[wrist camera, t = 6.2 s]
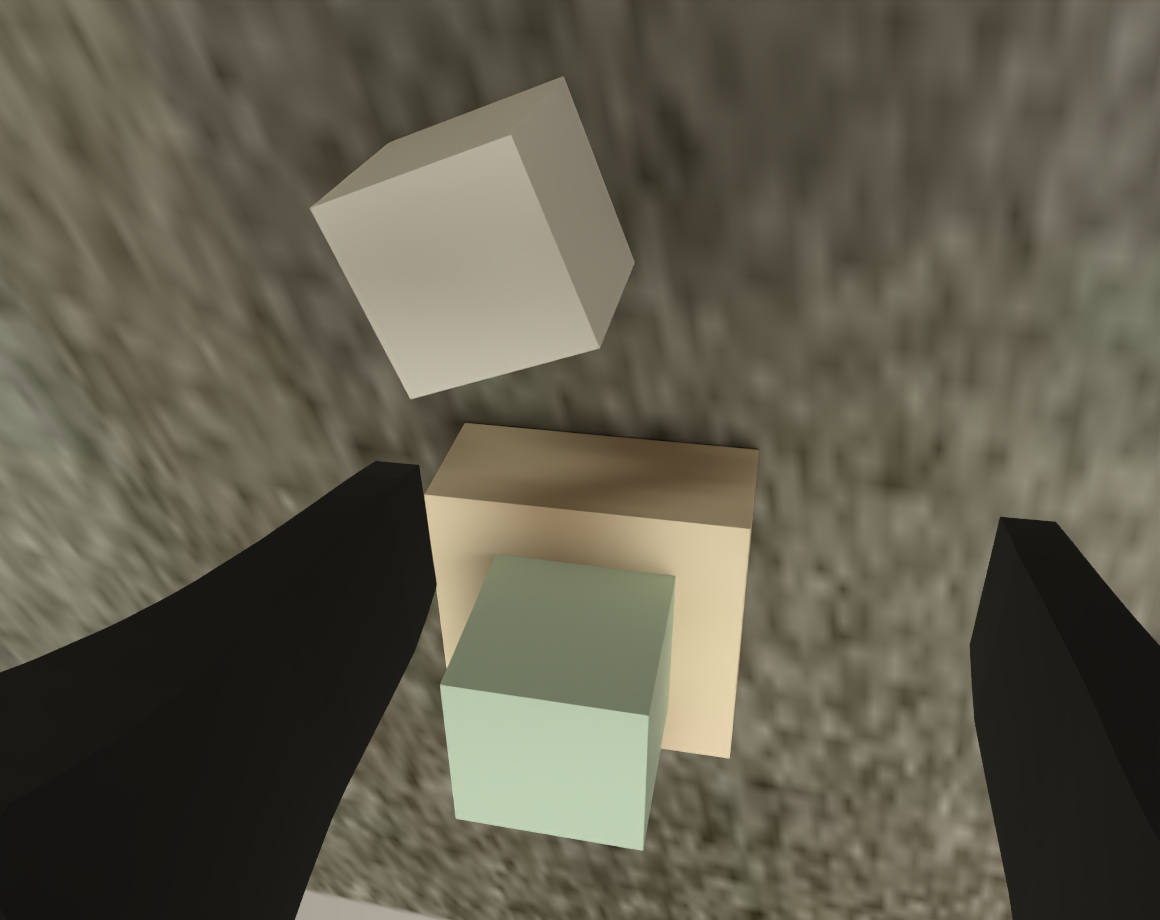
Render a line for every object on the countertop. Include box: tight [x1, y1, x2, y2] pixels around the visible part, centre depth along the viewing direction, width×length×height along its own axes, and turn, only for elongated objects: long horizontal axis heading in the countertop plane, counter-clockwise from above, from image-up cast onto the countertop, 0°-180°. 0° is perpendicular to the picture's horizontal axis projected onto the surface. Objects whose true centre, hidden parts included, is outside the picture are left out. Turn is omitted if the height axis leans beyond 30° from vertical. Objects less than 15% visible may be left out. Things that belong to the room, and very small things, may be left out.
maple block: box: [425, 423, 759, 758], centre depth 25 cm, size 7×7×3 cm
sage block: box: [440, 554, 676, 851], centre depth 22 cm, size 4×4×4 cm
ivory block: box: [310, 76, 635, 399], centre depth 20 cm, size 4×4×4 cm
